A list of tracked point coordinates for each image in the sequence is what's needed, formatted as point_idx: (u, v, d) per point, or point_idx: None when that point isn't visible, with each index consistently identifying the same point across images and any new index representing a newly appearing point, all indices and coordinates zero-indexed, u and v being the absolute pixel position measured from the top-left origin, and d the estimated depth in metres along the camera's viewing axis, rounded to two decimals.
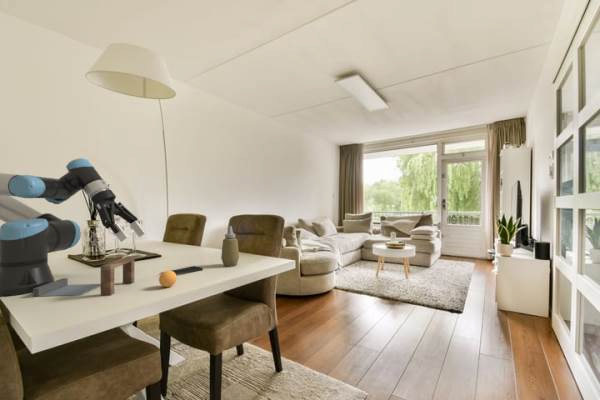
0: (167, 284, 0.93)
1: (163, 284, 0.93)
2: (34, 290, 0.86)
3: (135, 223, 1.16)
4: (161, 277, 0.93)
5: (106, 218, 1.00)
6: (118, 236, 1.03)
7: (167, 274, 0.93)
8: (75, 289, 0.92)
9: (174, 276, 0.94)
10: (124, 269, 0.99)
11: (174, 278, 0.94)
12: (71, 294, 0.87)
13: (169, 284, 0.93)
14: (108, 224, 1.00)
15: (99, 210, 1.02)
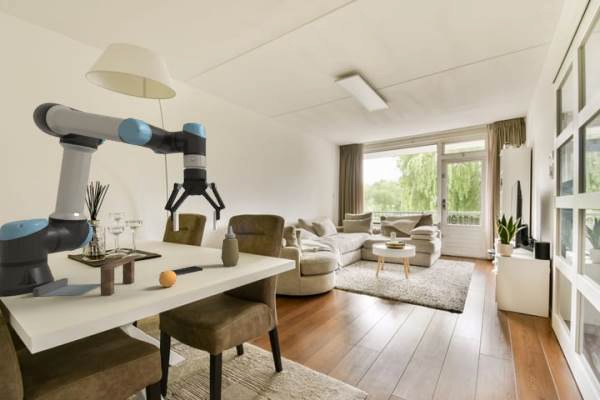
0: (167, 284, 0.93)
1: (163, 284, 0.93)
2: (34, 290, 0.86)
3: None
4: (161, 277, 0.93)
5: None
6: None
7: (167, 274, 0.93)
8: (75, 289, 0.92)
9: (174, 276, 0.94)
10: (124, 269, 0.99)
11: (174, 278, 0.94)
12: (71, 294, 0.87)
13: (169, 284, 0.93)
14: None
15: None
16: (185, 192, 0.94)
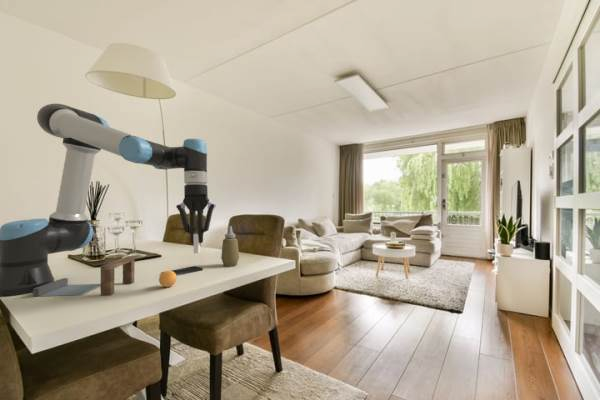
0: (167, 284, 0.93)
1: (163, 284, 0.93)
2: (34, 290, 0.86)
3: None
4: (161, 277, 0.93)
5: None
6: None
7: (167, 274, 0.93)
8: (75, 289, 0.92)
9: (174, 276, 0.94)
10: (124, 269, 0.99)
11: (174, 278, 0.94)
12: (71, 294, 0.87)
13: (169, 284, 0.93)
14: None
15: None
16: (191, 210, 0.94)
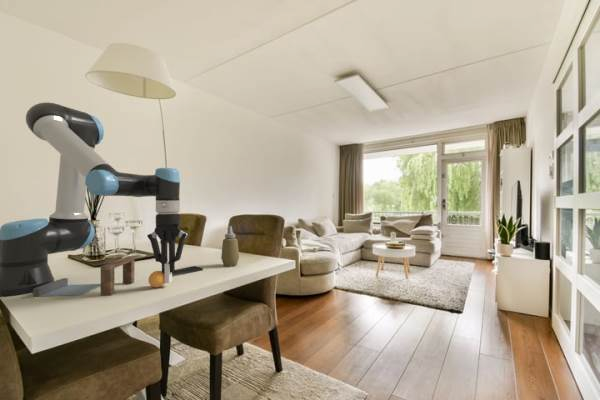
0: (159, 282, 0.93)
1: (156, 284, 0.92)
2: (34, 290, 0.86)
3: None
4: (149, 281, 0.92)
5: None
6: None
7: (152, 275, 0.93)
8: (75, 289, 0.92)
9: (160, 272, 0.94)
10: (124, 269, 0.99)
11: (161, 273, 0.94)
12: (71, 294, 0.87)
13: (161, 281, 0.93)
14: None
15: None
16: (162, 239, 0.94)
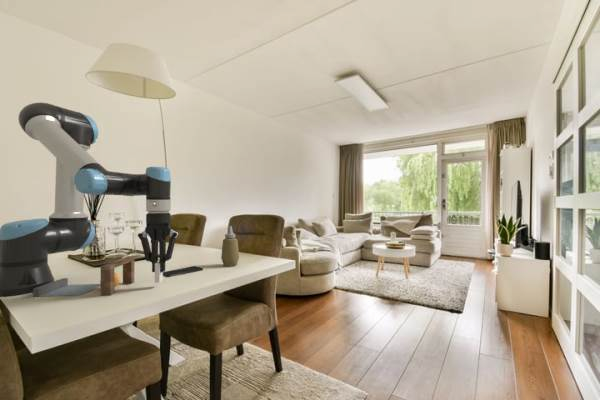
0: None
1: None
2: (34, 290, 0.86)
3: None
4: None
5: None
6: None
7: None
8: (75, 289, 0.92)
9: (116, 278, 0.93)
10: (124, 269, 0.99)
11: (116, 280, 0.93)
12: (71, 294, 0.87)
13: None
14: None
15: None
16: (152, 238, 0.93)
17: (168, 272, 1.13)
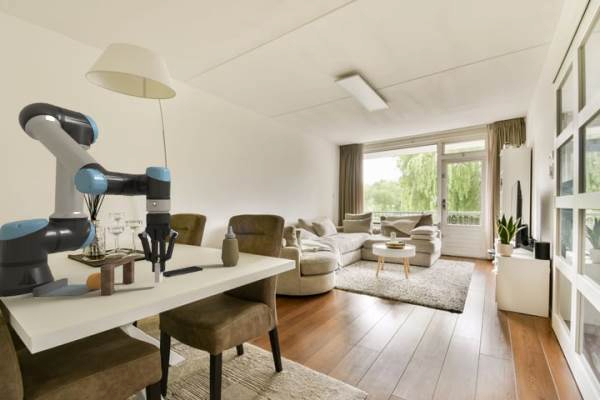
0: (96, 281, 0.91)
1: (96, 284, 0.91)
2: (34, 290, 0.86)
3: None
4: (88, 286, 0.91)
5: None
6: None
7: (87, 281, 0.91)
8: (75, 289, 0.92)
9: (92, 274, 0.92)
10: (124, 269, 0.99)
11: (94, 273, 0.92)
12: (71, 294, 0.87)
13: (97, 279, 0.91)
14: None
15: None
16: (152, 238, 0.93)
17: (168, 272, 1.13)
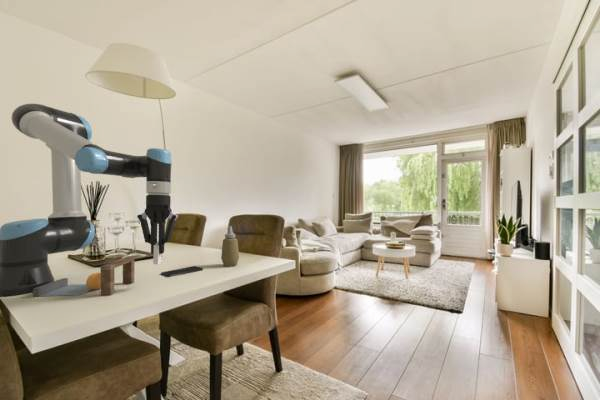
0: (96, 281, 0.91)
1: (96, 284, 0.91)
2: (34, 290, 0.86)
3: None
4: (88, 286, 0.91)
5: None
6: None
7: (87, 281, 0.91)
8: (75, 289, 0.92)
9: (92, 274, 0.92)
10: (124, 269, 0.99)
11: (94, 273, 0.92)
12: (71, 294, 0.87)
13: (97, 279, 0.91)
14: None
15: None
16: (151, 220, 0.93)
17: (168, 272, 1.13)
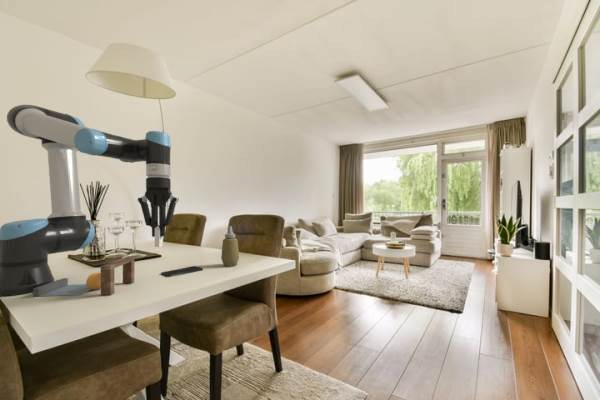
0: (96, 281, 0.91)
1: (96, 284, 0.91)
2: (34, 290, 0.86)
3: None
4: (88, 286, 0.91)
5: None
6: None
7: (87, 281, 0.91)
8: (75, 289, 0.92)
9: (92, 274, 0.92)
10: (124, 269, 0.99)
11: (94, 273, 0.92)
12: (71, 294, 0.87)
13: (97, 279, 0.91)
14: None
15: None
16: (152, 203, 0.93)
17: (168, 272, 1.13)
